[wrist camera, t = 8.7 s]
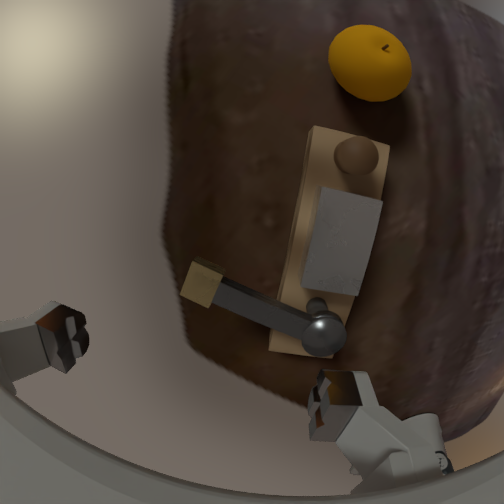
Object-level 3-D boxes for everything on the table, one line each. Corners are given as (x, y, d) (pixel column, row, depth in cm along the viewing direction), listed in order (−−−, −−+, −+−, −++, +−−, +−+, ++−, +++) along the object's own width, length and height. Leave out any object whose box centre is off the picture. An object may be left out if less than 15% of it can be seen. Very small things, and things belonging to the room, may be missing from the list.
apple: (307, 60, 22) (316, 27, 15) (362, 33, 20) (382, 1, 13) (356, 120, 23) (382, 105, 16) (407, 89, 21) (441, 71, 14)
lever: (351, 319, 21) (355, 329, 19) (328, 351, 22) (330, 362, 20) (199, 252, 20) (193, 258, 19) (184, 290, 21) (178, 298, 20)
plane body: (327, 338, 31) (337, 381, 23) (269, 329, 31) (266, 373, 23) (374, 148, 24) (408, 142, 17) (308, 132, 24) (320, 117, 17)
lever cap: (349, 282, 24) (357, 296, 21) (297, 273, 24) (300, 287, 21) (370, 197, 22) (383, 201, 19) (316, 184, 22) (321, 186, 19)
